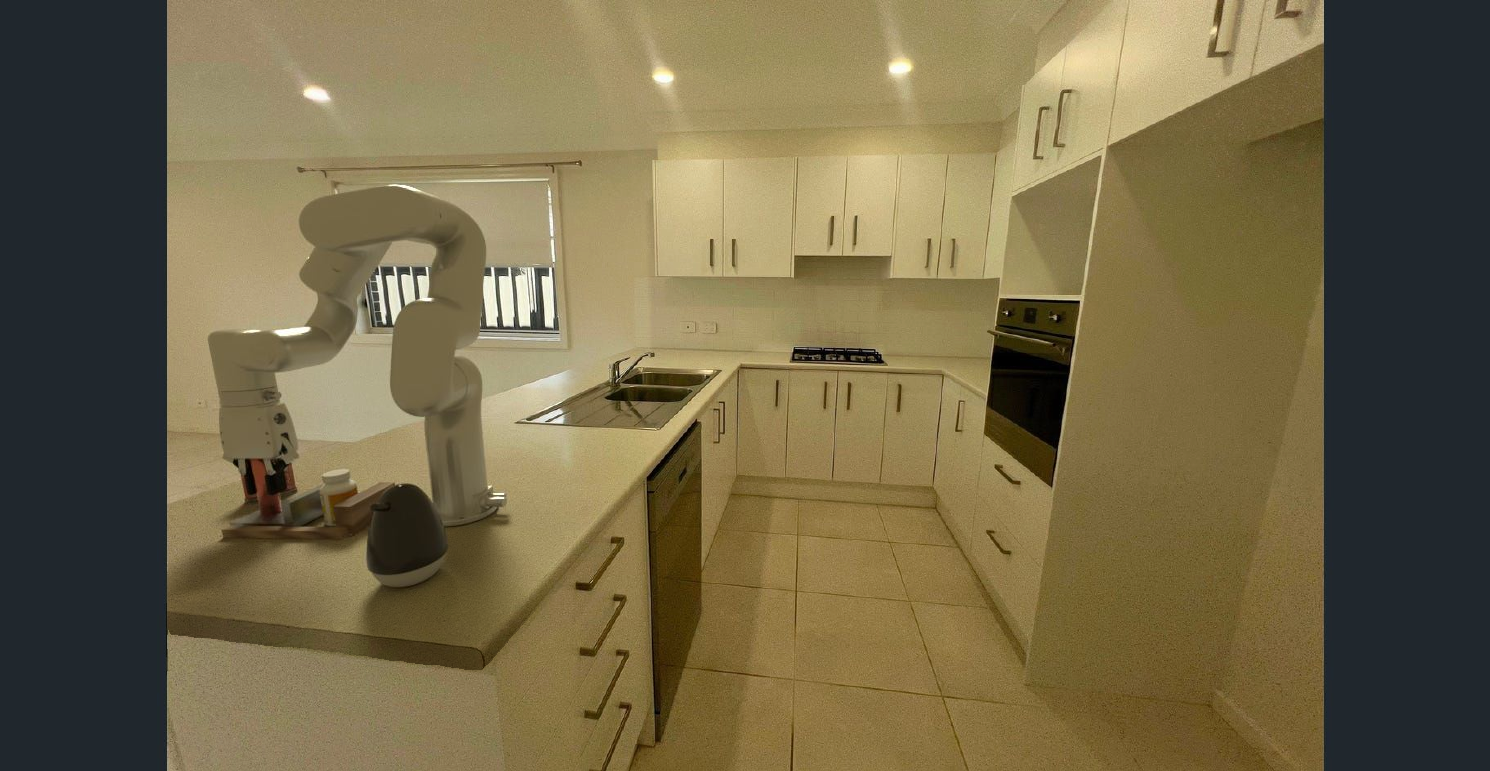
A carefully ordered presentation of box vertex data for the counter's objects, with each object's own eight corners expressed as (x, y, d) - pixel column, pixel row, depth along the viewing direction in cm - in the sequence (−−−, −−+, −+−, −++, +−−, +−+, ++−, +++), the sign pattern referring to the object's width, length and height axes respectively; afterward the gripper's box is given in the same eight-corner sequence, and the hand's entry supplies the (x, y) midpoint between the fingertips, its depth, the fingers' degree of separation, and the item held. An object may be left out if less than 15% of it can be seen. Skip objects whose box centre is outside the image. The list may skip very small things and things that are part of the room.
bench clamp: (403, 504, 98) (400, 479, 97) (347, 539, 84) (342, 510, 83) (296, 503, 98) (292, 478, 97) (223, 537, 84) (217, 508, 83)
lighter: (295, 488, 105) (287, 445, 103) (299, 492, 103) (291, 448, 101) (243, 501, 98) (234, 455, 96) (246, 505, 96) (237, 458, 94)
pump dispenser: (350, 596, 68) (335, 498, 65) (405, 557, 78) (393, 470, 76) (419, 600, 68) (406, 501, 65) (464, 560, 78) (455, 473, 75)
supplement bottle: (368, 514, 93) (361, 468, 91) (343, 527, 88) (335, 478, 86) (343, 513, 94) (336, 466, 92) (317, 526, 88) (308, 477, 87)
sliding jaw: (335, 507, 95) (325, 445, 93) (294, 529, 86) (281, 461, 84) (278, 507, 95) (267, 444, 93) (230, 529, 86) (216, 460, 84)
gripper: (313, 394, 90) (328, 485, 93) (227, 392, 90) (245, 483, 93) (275, 402, 83) (292, 501, 86) (181, 401, 82) (202, 500, 86)
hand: (267, 491), depth 90 cm, fingers closed on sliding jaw, 3 cm apart
